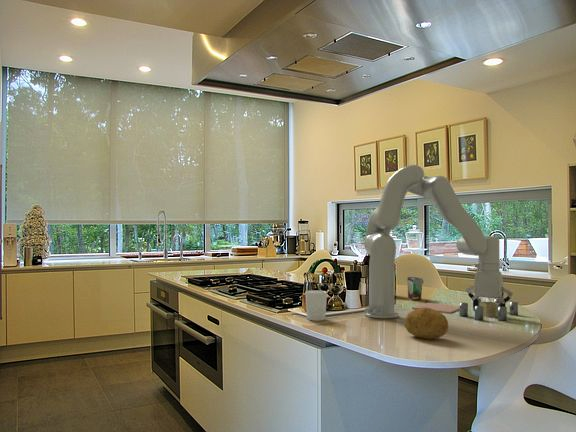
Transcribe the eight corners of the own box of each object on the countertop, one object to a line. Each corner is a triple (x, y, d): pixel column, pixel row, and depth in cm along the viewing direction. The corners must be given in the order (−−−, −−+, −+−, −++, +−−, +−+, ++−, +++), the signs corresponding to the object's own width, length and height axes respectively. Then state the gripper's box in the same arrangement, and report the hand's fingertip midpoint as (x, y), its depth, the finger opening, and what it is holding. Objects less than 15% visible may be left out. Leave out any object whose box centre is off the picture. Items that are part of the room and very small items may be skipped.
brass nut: (494, 318, 180) (494, 304, 180) (478, 316, 184) (478, 302, 184) (499, 315, 185) (499, 302, 185) (483, 313, 189) (483, 300, 189)
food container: (426, 301, 219) (426, 279, 219) (413, 301, 219) (413, 279, 219) (419, 297, 231) (420, 276, 232) (407, 297, 231) (407, 276, 232)
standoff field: (502, 323, 169) (502, 309, 169) (454, 317, 179) (454, 304, 179) (521, 313, 189) (521, 300, 190) (477, 308, 200) (477, 296, 200)
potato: (415, 303, 154) (400, 304, 147) (455, 311, 144) (441, 311, 138) (412, 333, 153) (397, 334, 146) (452, 342, 144) (438, 344, 137)
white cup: (329, 318, 176) (329, 291, 176) (322, 322, 169) (322, 293, 169) (310, 316, 179) (310, 289, 179) (301, 320, 172) (302, 292, 172)
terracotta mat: (450, 313, 188) (450, 312, 188) (412, 308, 198) (412, 307, 198) (464, 308, 200) (464, 307, 200) (427, 304, 210) (427, 302, 210)
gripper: (463, 267, 187) (463, 310, 187) (510, 270, 176) (510, 316, 176) (469, 266, 193) (469, 308, 193) (515, 268, 182) (515, 313, 182)
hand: (489, 312), depth 184 cm, fingers open, 9 cm apart
